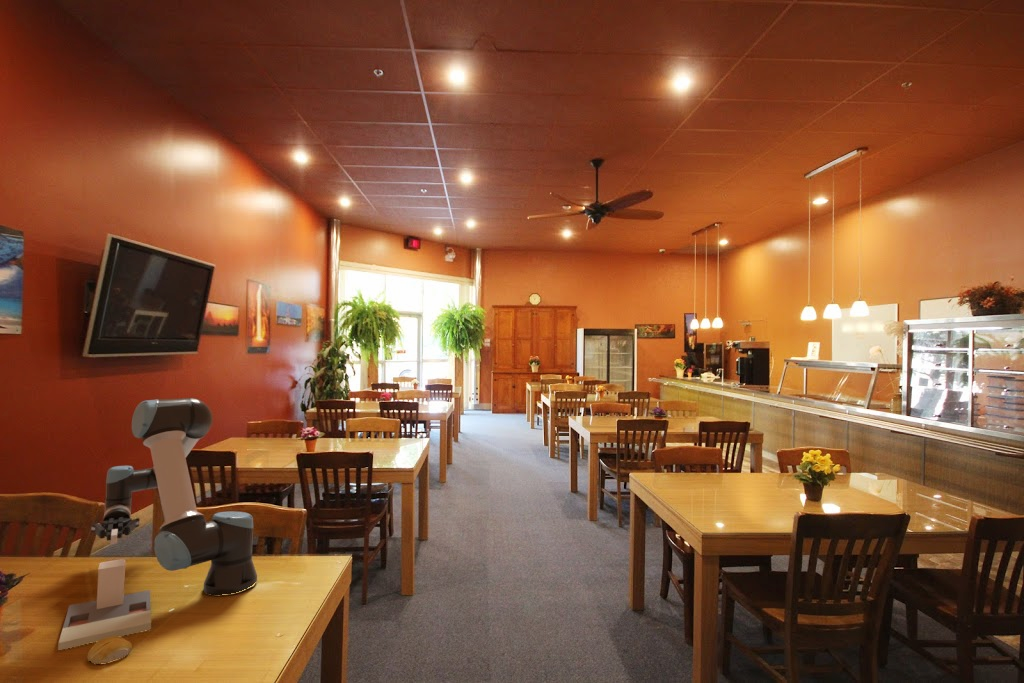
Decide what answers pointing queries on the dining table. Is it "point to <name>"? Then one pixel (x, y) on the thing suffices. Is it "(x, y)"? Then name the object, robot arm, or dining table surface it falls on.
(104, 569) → the cream block
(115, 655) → the bread roll
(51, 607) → the dining table surface
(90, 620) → the board
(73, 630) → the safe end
